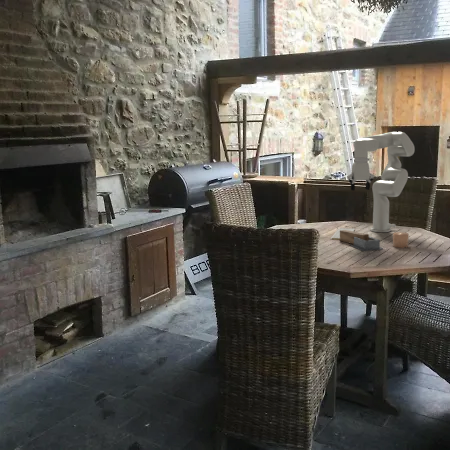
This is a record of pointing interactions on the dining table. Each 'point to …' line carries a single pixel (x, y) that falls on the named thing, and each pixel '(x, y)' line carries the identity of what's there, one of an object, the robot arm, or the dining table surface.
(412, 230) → the dining table surface
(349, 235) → the rail
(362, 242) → the bracket
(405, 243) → the brown round cylinder
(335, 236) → the baseboard molding
